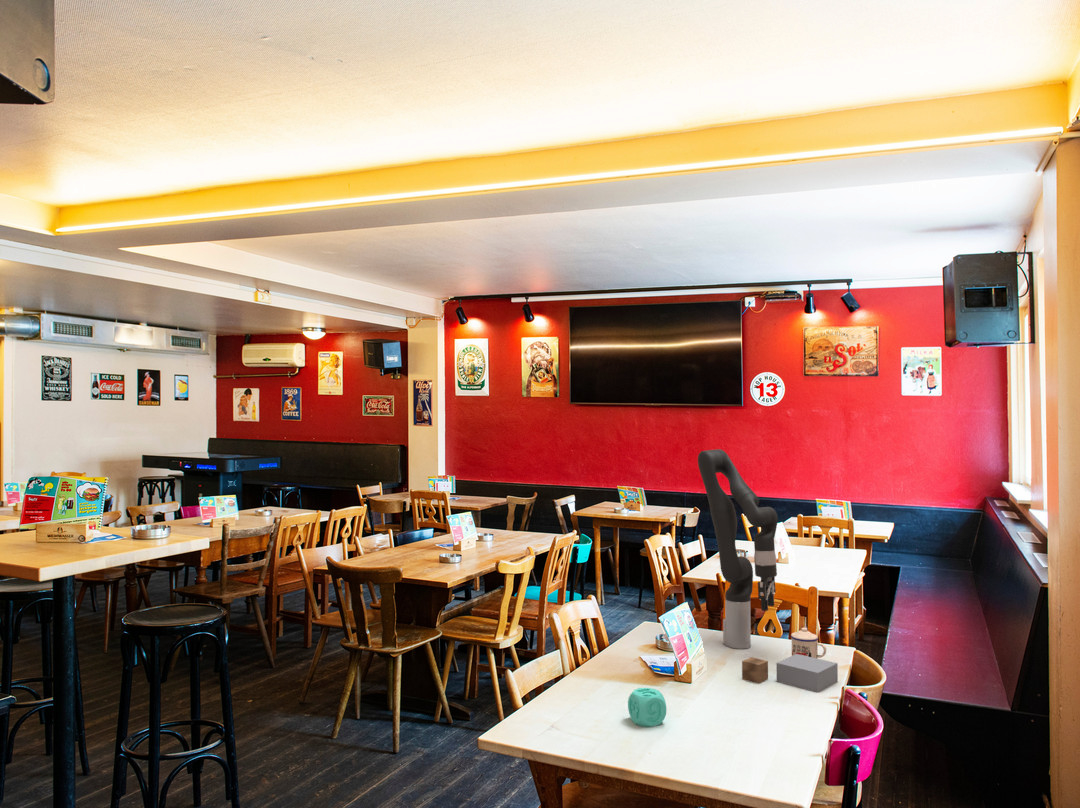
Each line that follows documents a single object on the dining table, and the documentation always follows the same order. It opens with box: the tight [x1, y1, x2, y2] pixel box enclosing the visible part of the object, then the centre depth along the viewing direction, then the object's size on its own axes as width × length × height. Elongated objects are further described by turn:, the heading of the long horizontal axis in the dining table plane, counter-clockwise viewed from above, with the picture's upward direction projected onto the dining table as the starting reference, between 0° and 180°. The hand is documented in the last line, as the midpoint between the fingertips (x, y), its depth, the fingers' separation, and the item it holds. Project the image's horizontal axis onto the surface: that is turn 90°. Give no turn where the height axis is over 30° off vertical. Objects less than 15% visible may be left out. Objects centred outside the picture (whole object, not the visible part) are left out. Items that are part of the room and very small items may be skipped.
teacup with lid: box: [790, 627, 827, 659], centre depth 260 cm, size 12×9×12 cm
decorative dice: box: [627, 687, 667, 728], centre depth 206 cm, size 8×8×8 cm
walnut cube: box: [741, 656, 769, 684], centre depth 242 cm, size 6×6×6 cm
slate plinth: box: [775, 654, 839, 693], centre depth 240 cm, size 14×14×6 cm
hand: (767, 608), depth 266 cm, fingers open, 8 cm apart
